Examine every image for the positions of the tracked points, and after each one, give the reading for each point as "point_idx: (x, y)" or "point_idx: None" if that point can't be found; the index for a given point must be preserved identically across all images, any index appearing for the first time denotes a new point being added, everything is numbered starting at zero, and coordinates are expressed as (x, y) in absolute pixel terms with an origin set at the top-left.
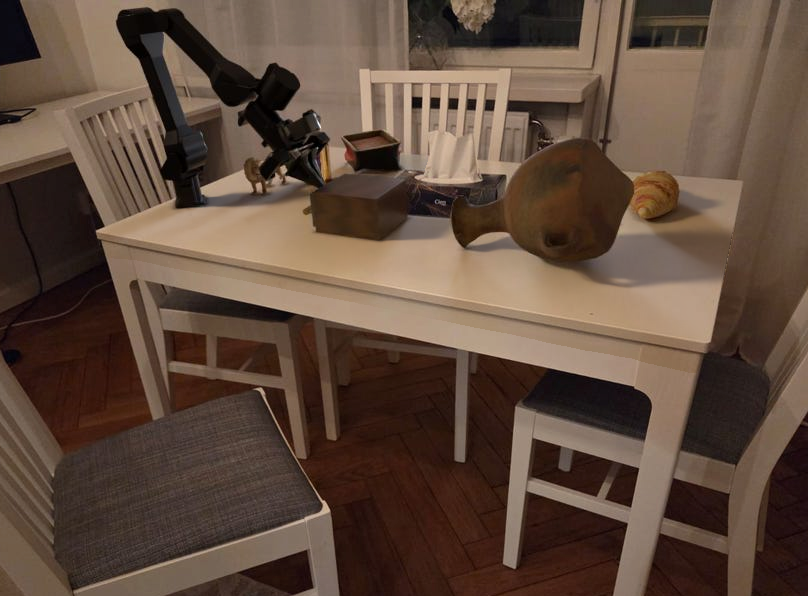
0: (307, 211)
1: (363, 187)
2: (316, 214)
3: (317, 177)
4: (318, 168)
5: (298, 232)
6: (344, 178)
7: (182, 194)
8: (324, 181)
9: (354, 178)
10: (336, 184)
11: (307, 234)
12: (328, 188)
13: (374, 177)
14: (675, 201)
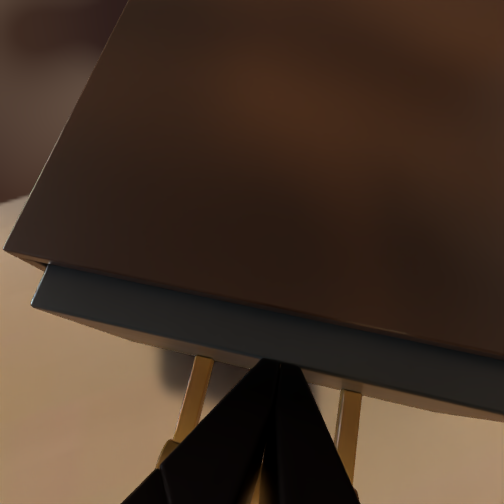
0: (358, 497)
1: (378, 25)
2: None
3: (316, 443)
4: (154, 491)
5: (480, 494)
6: (161, 207)
7: None
8: (250, 374)
9: (164, 132)
10: (347, 218)
11: (489, 425)
12: (477, 251)
13: (143, 24)
14: None
